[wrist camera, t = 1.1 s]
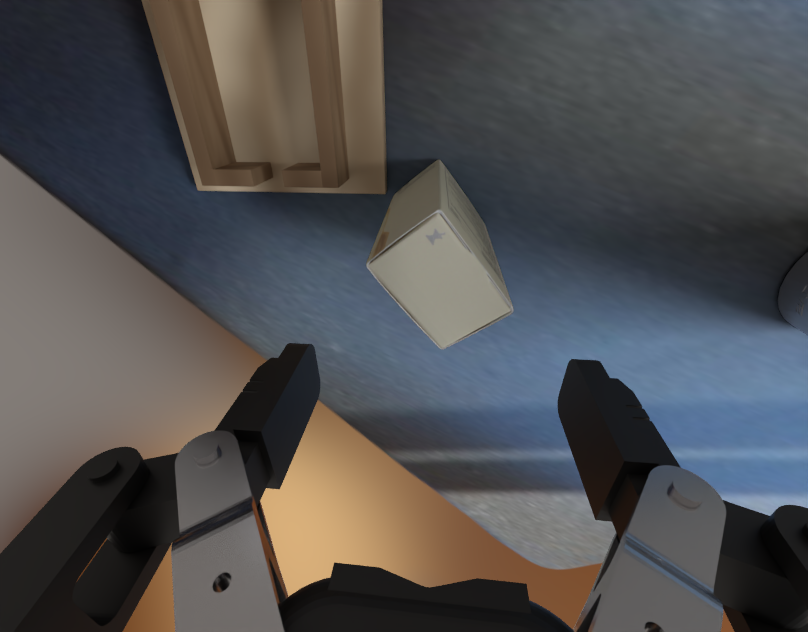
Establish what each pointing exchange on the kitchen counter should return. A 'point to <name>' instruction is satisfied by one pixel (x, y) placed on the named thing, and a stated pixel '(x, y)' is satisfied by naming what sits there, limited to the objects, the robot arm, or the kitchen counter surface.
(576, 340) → the kitchen counter surface
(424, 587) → the robot arm
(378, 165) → the frame
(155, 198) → the kitchen counter surface
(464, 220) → the skincare box
